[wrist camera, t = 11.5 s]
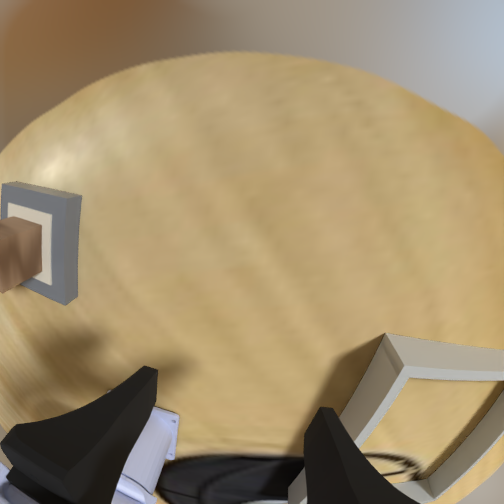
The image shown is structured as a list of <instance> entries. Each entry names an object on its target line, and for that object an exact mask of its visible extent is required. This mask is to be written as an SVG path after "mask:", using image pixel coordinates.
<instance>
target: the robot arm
mask: <svg viewBox="0 0 504 504" xmlns="http://www.w3.org/2000/svg"><path fill="white" fill-rule="evenodd" d="M157 376H158V370H157V369H154V368H151V367H148V366H143V367H142V368H140V369H139V370H138V371H137V372H136V373H134V374H133V375H132V376H131V377H129V378H128V379H127V380H125V381H124V382H123V383H121V384H120V385H118V386H117V387H116V388H114V389H113V390H108V392H107V394H105V395H103V396H102V397H100V398H98V399H97V400H95V401H93V402H91V403H89V404H87V405H85V406H83V407H81V408H79V409H77V410H74V411H72V412H69V413H66V414H64V415H61V416H57V417H54V418H50V419H46V420H42V421H38V422H31V423H24V424H16V425H15V426H14V427H13V428H12V429H11V430H10V431H9V433H8V434H7V435H6V437H5V438H4V439H3V440H2V441H1V443H0V445H1V449H2V450H3V452H4V454H5V455H6V456H7V458H8V459H9V461H10V462H11V464H12V465H13V467H12V469H11V470H9V468H8V467H6V466H5V465H4V464H3V463H2V462H0V504H156V501H157V498H156V497H154V496H152V494H153V492H154V489H155V486H156V483H157V481H158V478H159V475H160V472H161V470H162V467H163V464H164V461H165V458H166V459H170V460H174V458H175V451H176V442H177V434H178V425H179V415H177V414H176V413H173V412H170V411H166V410H163V409H160V408H157V407H154V405H155V402H156V394H157ZM304 464H305V475H306V487H307V504H420V503H419V502H417V501H415V500H413V499H411V498H410V497H408V496H407V495H405V494H404V493H402V492H401V491H400V490H398V489H397V488H396V487H394V486H393V485H392V484H391V483H390V482H388V481H387V480H386V479H385V478H384V477H383V476H382V475H381V474H380V473H379V472H378V471H377V470H376V469H375V468H374V467H373V466H372V465H371V464H370V462H369V461H368V460H367V459H366V458H365V456H364V455H363V454H362V452H361V451H360V450H359V448H358V447H357V446H356V444H355V443H354V441H353V440H352V438H351V437H350V435H349V434H348V432H347V431H346V429H345V427H344V426H343V424H342V422H341V421H340V419H339V417H338V416H337V414H336V412H335V411H334V409H333V408H327V407H320V408H319V410H318V412H317V413H316V415H315V417H314V419H313V420H312V422H311V424H310V425H309V427H308V429H307V430H306V432H305V434H304Z"/></svg>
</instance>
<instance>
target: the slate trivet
mask: <svg viewBox="0 0 504 504" xmlns="http://www.w3.org/2000/svg"><path fill="white" fill-rule="evenodd" d="M81 200H82V195H78V194H73V193H69V192H64V191H59V190H55V189H50V188H45V187H41V186H36V185H31V184H26V183H22V182H17V181H16V182H9V183H3V184H2V192H1V220H2V219H5V218H9V217H12V216H15V217H18V218H22V219H25V220H28V221H31V222H34V223H37V224H40V225H42V272H40V273H38V274H37V275H35V276H33V277H31V278H29V279H27V280H26V281H24V282H22V283H20V284H21V285H23V286H25V287H27V288H29V289H31V290H33V291H35V292H37V293H39V294H41V295H43V296H45V297H47V298H50V299H52V300H54V301H56V302H58V303H61V304H63V305H65V306H66V305H67V304H68V303H70V302H71V301H72V300H74V299H75V298H76V297H78V238H79V222H80V210H81Z"/></svg>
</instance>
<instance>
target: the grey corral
mask: <svg viewBox="0 0 504 504" xmlns="http://www.w3.org/2000/svg"><path fill="white" fill-rule="evenodd" d="M409 377H410V378H423V379H440V380H468V381H498V380H504V350H500V349H491V348H482V347H474V346H466V345H459V344H452V343H445V342H438V341H431V340H425V339H418V338H412V337H406V336H400V335H394V334H389V333H385V335H384V337H383V339H382V341H381V343H380V345H379V347H378V349H377V351H376V353H375V355H374V357H373V359H372V361H371V363H370V365H369V367H368V369H367V370H366V372H365V374H364V376H363V378H362V380H361V381H360V383H359V385H358V387H357V388H356V390H355V392H354V394H353V395H352V397H351V399H350V400H349V402H348V404H347V405H346V407H345V409H344V410H343V412H342V414H341V415H340V417H339V419H340V421H341V422H342V424H343V426H344V427H345V429H346V431H347V432H348V434H349V435H350V437H351V438H352V440H353V441H354V443H355V444H356V446H357V447H358V448H360V447H361V445H362V444H363V443H364V442H365V440H366V439H367V438H368V437H369V435H370V434H371V433H372V431H373V430H374V429H375V427H376V426H377V425H378V423H379V422H380V420H381V419H382V418H383V416H384V415H385V413H386V412H387V411H388V409H389V408H390V406H391V405H392V403H393V402H394V400H395V399H396V397H397V396H398V394H399V393H400V391H401V389H402V388H403V386H404V385H405V383H406V381H407V380H408V378H409ZM503 434H504V390H503V391H502V393H501V394H500V396H499V397H498V399H497V400H496V401H495V403H494V404H493V406H492V407H491V408H490V410H489V411H488V412H487V414H486V415H485V416H484V417H483V419H482V420H481V421H480V423H479V424H478V425H477V426H476V428H475V429H474V430H473V431H472V432H471V434H470V435H469V436H468V437H467V438H466V439H465V441H464V442H463V443H462V444H461V445H460V446H459V447H458V448H457V449H456V450H455V452H454V453H453V454H452V455H451V456H450V457H449V458H448V459H447V460H446V461H445V462H444V463H443V464H442V465H441V466H440V467H439V468H438V469H437V470H436V471H435V472H434V473H433V474H432V475H430V476H429V477H428V478H427V479H423V480H417V481H410V482H402V483H394V484H392V485H393V486H394V487H396V488H397V489H398V490H400V491H401V492H402V493H404V494H405V495H407V496H408V497H410V498H411V499H413V500H415V501H417V502H419V503H420V504H424V503H428V502H432V501H435V500H436V499H438V498H439V497H440V496H441V495H443V494H444V493H445V492H446V491H447V490H449V489H450V488H451V487H452V486H453V485H454V484H456V483H457V482H458V481H459V480H460V479H461V478H462V477H463V476H464V475H465V474H466V473H468V472H469V471H470V470H471V469H472V468H473V467H474V466H475V465H476V464H477V463H478V462H479V461H480V460H481V459H482V458H483V457H484V456H485V455H486V453H487V452H488V451H489V450H490V449H491V448H492V447H493V446H494V445H495V444H496V442H497V441H498V440H499V439H500V438H501V437H502V436H503ZM288 504H307V487H306V475H305V467H304V468H303V470H302V471H301V472H300V474H299V475H298V476H297V477H296V479H295V480H294V481H293V482H292V484H291V485H290V486H289V487H288Z"/></svg>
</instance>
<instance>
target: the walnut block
mask: <svg viewBox="0 0 504 504" xmlns="http://www.w3.org/2000/svg"><path fill="white" fill-rule="evenodd" d="M40 272H42V225H40V224H37V223H34V222H31V221H28V220H25V219H22V218H18V217H15V216H12V217H9V218H5V219H2V220H0V292H1V293H5V292H6V291H8V290H10V289H11V288H13V287H15V286H17V285H18V284H20V283H22V282H24V281H26V280H27V279H29V278H31V277H33V276H35V275H37V274H38V273H40Z"/></svg>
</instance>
